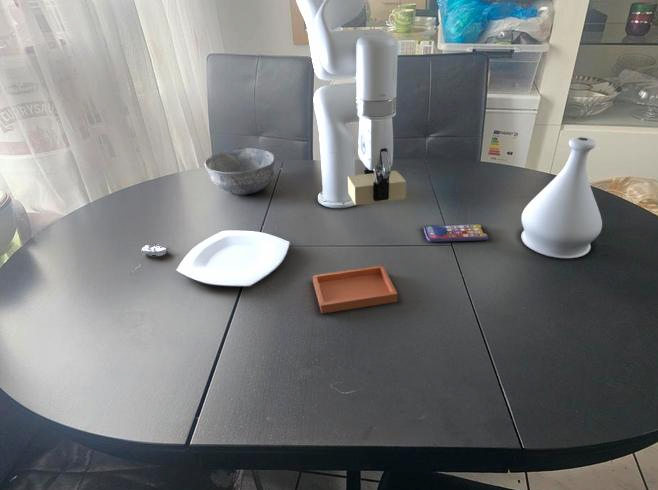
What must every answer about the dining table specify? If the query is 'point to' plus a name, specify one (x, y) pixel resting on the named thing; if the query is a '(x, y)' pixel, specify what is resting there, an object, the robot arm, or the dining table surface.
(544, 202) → the vase
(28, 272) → the dining table surface
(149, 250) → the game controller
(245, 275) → the plate
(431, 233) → the smartphone
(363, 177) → the foam pad
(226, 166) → the bowl
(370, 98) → the robot arm
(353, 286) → the shallow tray
